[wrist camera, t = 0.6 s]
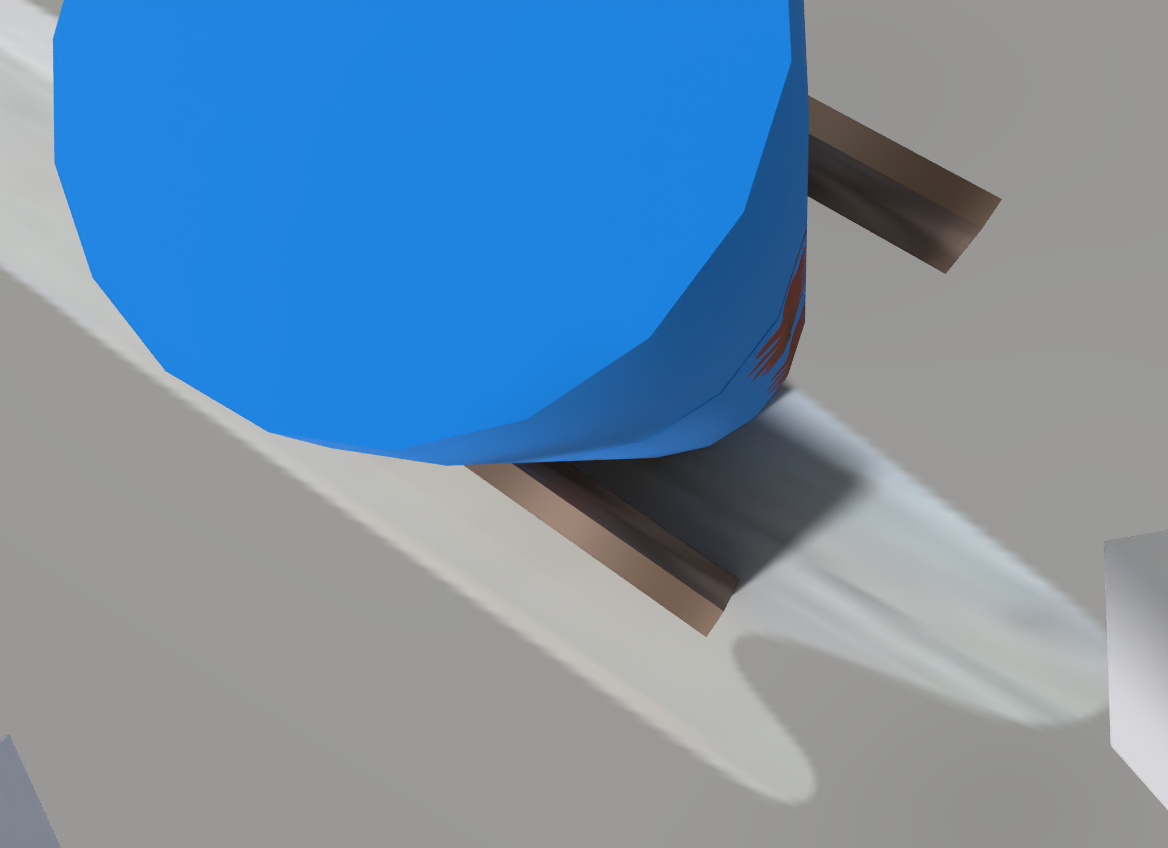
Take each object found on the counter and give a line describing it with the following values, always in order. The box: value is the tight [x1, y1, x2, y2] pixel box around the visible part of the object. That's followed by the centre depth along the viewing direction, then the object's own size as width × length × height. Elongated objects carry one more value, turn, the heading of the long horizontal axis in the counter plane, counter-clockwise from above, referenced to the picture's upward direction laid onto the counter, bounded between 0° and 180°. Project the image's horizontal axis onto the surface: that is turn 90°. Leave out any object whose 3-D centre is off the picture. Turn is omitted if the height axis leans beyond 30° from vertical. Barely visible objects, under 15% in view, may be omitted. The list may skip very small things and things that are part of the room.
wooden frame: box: [464, 96, 1001, 637], centre depth 32 cm, size 19×16×8 cm
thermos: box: [53, 0, 809, 466], centre depth 24 cm, size 11×11×25 cm
